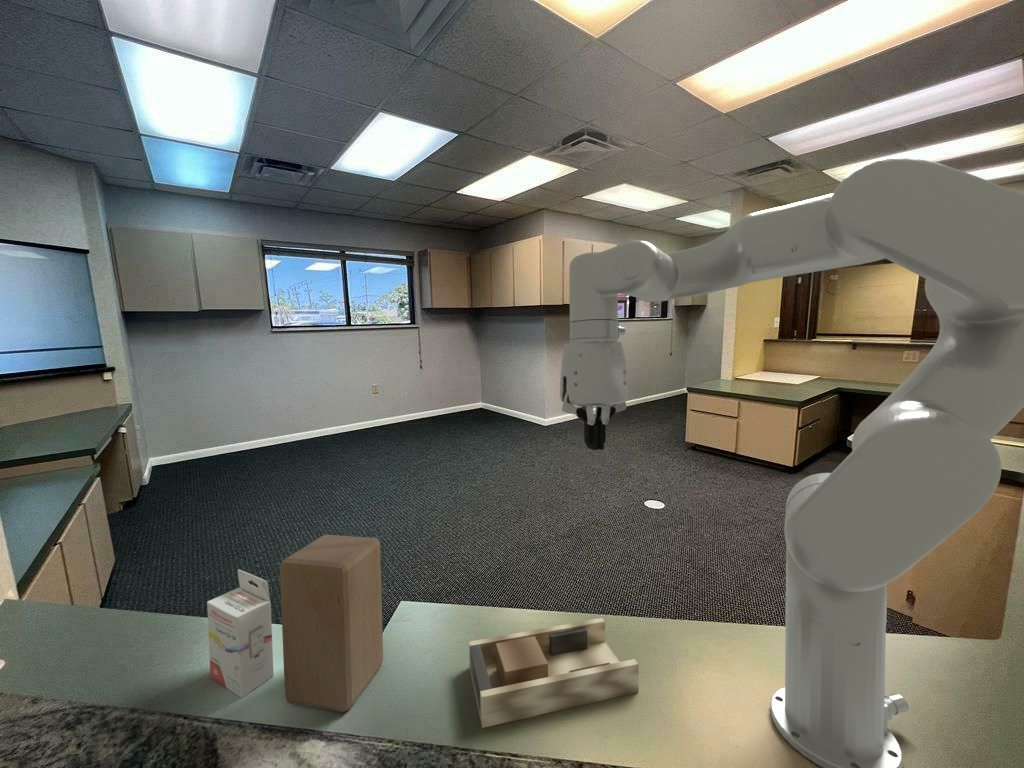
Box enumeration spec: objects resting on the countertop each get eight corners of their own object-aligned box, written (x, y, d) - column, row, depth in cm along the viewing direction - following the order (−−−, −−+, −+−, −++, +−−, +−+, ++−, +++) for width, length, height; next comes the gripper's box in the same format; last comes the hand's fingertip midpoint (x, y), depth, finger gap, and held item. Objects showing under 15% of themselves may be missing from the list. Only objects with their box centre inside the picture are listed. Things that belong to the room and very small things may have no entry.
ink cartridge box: (207, 678, 61) (203, 581, 61) (242, 658, 66) (239, 567, 65) (240, 700, 57) (236, 595, 57) (275, 676, 62) (271, 579, 61)
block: (348, 716, 54) (343, 566, 53) (281, 705, 56) (276, 560, 55) (386, 663, 64) (382, 535, 63) (328, 655, 66) (324, 531, 65)
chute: (602, 641, 68) (602, 617, 68) (638, 691, 57) (638, 663, 57) (469, 667, 63) (468, 641, 63) (482, 728, 52) (481, 697, 52)
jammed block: (535, 662, 63) (534, 636, 63) (548, 691, 57) (547, 663, 57) (496, 669, 61) (495, 643, 61) (505, 701, 55) (505, 672, 55)
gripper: (624, 336, 71) (625, 441, 72) (541, 335, 68) (543, 447, 68) (648, 332, 64) (649, 449, 65) (557, 331, 61) (559, 456, 61)
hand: (594, 448), depth 67 cm, fingers closed
